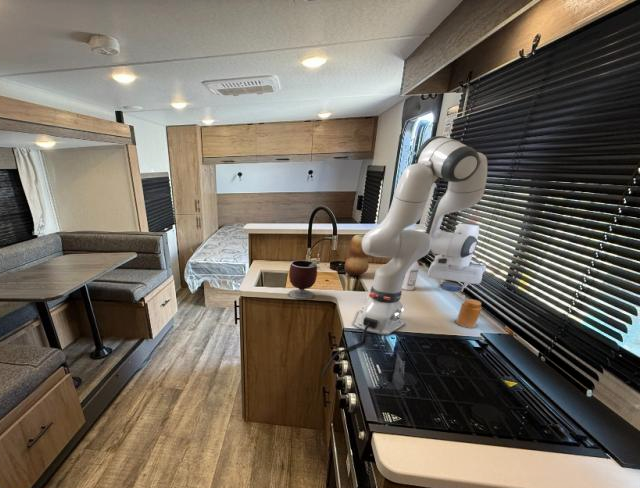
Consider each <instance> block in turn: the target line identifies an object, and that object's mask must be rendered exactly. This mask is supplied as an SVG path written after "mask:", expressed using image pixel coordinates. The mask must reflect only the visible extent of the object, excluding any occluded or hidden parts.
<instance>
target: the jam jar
mask: <svg viewBox="0 0 640 488" xmlns="http://www.w3.org/2000/svg"><path fill="white" fill-rule="evenodd" d="M481 306H482V302H481V301H480V300H477V299H472V298H466V299H464V301H463V302H462V303H461V305H460V308H459V310H458V315H457V318H456V321H455V322H456V324H457V325H458V326H461V327H464V328H469V329H473V328H475V327H476V326H477V323H478V319H479V318H480V314H481V311H482V309H483V308H482V307H481Z"/></svg>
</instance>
